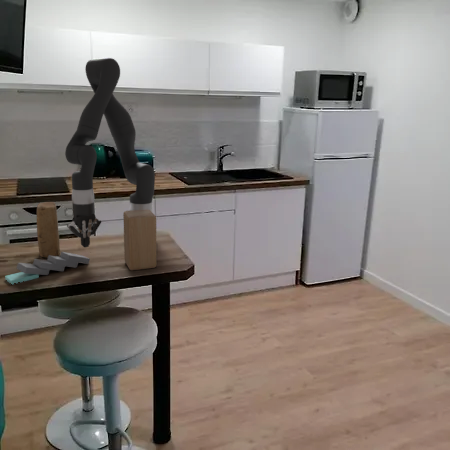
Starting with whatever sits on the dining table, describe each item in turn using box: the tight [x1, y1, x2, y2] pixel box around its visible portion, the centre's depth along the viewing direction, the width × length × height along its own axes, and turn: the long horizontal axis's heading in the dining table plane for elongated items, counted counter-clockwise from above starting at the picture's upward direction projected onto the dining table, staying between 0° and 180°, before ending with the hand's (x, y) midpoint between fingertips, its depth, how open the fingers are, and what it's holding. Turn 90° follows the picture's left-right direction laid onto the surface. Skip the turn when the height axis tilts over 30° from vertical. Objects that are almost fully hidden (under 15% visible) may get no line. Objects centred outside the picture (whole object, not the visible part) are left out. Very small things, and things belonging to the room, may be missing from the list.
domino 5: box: [59, 251, 91, 265], centre depth 163 cm, size 2×5×9 cm
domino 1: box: [4, 271, 40, 285], centre depth 151 cm, size 2×5×9 cm
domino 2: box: [16, 262, 51, 276], centre depth 152 cm, size 2×5×9 cm
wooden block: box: [122, 209, 157, 271], centre depth 164 cm, size 10×10×20 cm
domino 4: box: [46, 255, 79, 269], centre depth 159 cm, size 2×5×9 cm
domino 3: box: [32, 258, 66, 272], centre depth 156 cm, size 2×5×9 cm
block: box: [36, 201, 61, 259], centre depth 171 cm, size 11×8×20 cm
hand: (85, 246), depth 165 cm, fingers closed
